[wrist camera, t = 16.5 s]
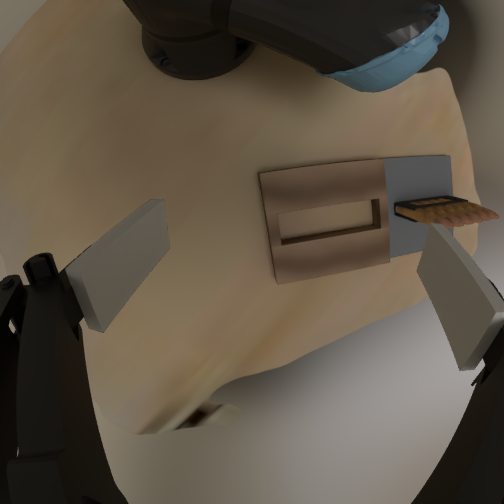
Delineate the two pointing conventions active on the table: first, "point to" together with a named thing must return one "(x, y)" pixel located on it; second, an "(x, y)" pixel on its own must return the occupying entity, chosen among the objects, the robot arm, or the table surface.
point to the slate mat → (414, 196)
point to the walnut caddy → (323, 194)
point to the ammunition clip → (443, 211)
